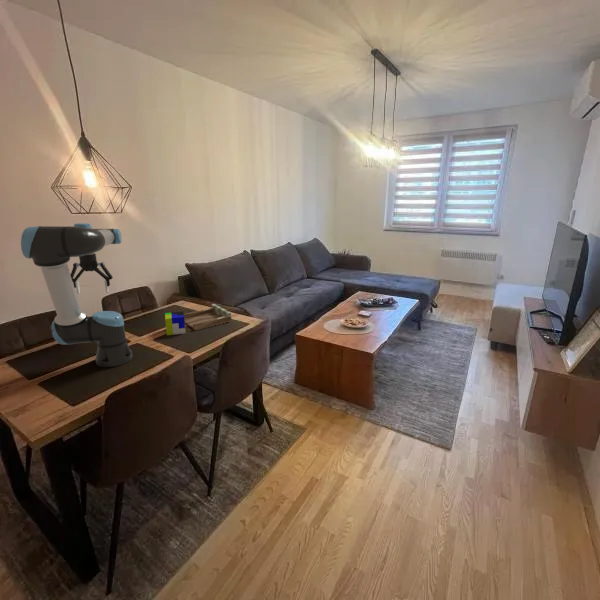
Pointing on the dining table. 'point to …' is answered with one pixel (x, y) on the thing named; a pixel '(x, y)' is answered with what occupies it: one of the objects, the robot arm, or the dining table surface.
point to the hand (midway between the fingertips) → (93, 292)
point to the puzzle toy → (175, 323)
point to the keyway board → (207, 317)
